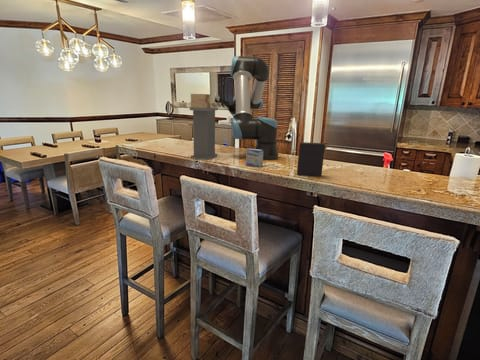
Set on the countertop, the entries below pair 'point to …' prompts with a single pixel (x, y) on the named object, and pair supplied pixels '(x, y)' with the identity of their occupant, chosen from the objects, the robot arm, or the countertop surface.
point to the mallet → (202, 101)
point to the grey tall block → (204, 132)
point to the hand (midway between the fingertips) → (225, 94)
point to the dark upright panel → (310, 159)
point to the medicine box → (254, 157)
